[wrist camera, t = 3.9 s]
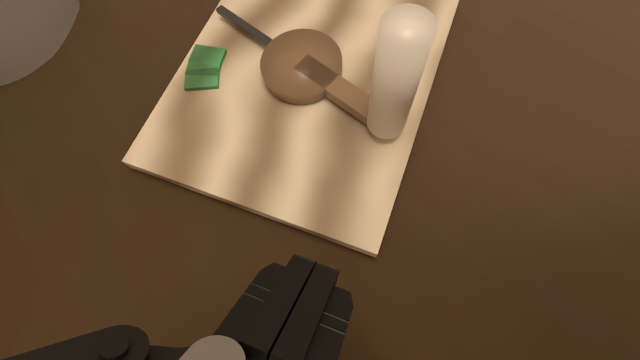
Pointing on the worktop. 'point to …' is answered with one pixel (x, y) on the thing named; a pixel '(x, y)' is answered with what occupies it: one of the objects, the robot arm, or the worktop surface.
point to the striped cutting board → (285, 123)
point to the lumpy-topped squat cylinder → (32, 34)
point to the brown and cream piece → (326, 67)
